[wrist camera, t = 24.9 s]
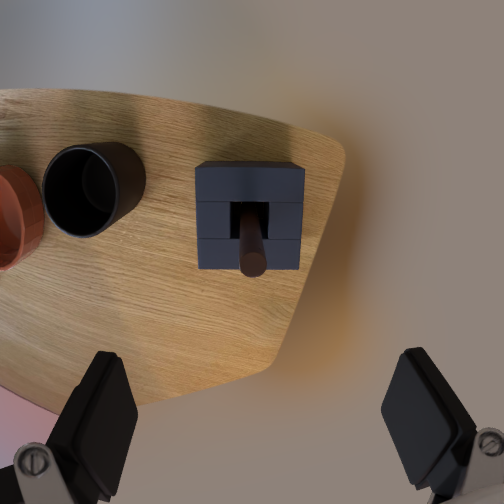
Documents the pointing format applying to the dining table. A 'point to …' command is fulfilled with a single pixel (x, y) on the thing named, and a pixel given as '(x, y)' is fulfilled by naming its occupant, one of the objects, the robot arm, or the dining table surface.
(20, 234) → the bowl
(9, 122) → the dining table surface
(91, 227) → the mug
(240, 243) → the stick
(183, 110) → the dining table surface
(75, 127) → the dining table surface
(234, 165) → the holder
